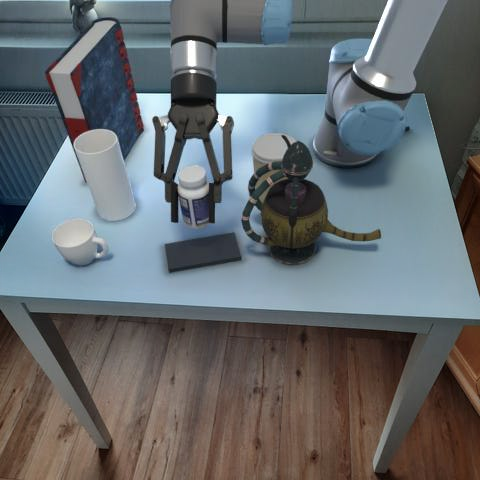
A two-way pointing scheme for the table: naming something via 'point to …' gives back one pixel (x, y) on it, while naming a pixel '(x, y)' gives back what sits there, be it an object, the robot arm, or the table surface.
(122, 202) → the cup
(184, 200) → the pill bottle
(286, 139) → the teapot
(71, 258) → the cup
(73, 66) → the book
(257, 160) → the coffee cup
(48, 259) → the table surface
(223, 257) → the mat
